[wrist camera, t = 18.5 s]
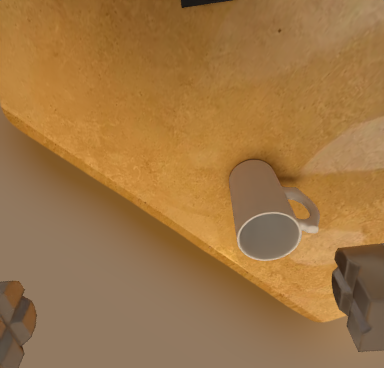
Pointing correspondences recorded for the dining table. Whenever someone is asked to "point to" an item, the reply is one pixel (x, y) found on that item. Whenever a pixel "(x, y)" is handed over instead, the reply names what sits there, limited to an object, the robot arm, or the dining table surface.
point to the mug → (267, 212)
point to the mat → (198, 2)
